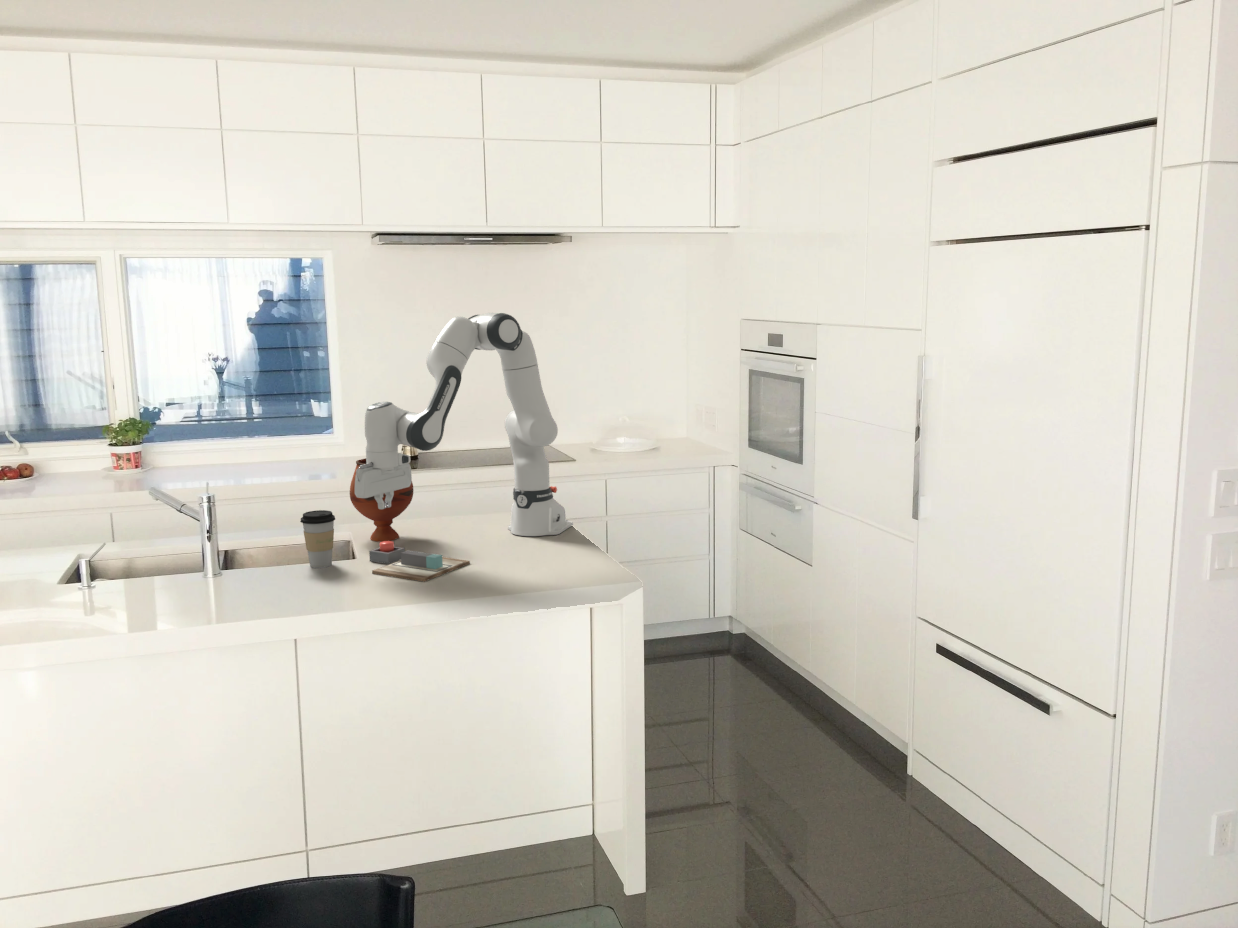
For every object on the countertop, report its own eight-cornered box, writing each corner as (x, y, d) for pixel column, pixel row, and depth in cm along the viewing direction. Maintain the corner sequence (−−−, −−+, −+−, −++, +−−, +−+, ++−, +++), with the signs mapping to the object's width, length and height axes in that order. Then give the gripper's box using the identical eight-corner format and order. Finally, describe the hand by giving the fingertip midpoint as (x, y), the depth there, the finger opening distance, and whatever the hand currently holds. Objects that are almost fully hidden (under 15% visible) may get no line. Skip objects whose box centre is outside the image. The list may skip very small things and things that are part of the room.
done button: (386, 549, 291) (386, 540, 291) (397, 550, 289) (396, 541, 289) (376, 552, 288) (376, 543, 287) (387, 553, 286) (387, 545, 285)
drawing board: (419, 556, 292) (419, 553, 292) (469, 563, 284) (469, 560, 283) (372, 573, 275) (372, 570, 275) (424, 581, 266) (423, 578, 266)
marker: (401, 564, 281) (400, 552, 280) (408, 561, 283) (408, 550, 283) (435, 569, 275) (434, 557, 274) (442, 566, 278) (442, 555, 277)
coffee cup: (325, 570, 278) (321, 517, 275) (296, 568, 281) (292, 515, 278) (344, 562, 287) (341, 510, 284) (316, 559, 290) (313, 508, 287)
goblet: (341, 544, 307) (336, 464, 302) (370, 530, 325) (365, 453, 321) (399, 547, 302) (395, 465, 298) (425, 532, 321) (421, 455, 317)
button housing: (386, 555, 294) (385, 545, 293) (405, 558, 290) (404, 548, 290) (369, 561, 287) (369, 550, 287) (388, 563, 284) (388, 553, 284)
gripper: (365, 466, 273) (367, 516, 276) (414, 455, 291) (416, 502, 293) (347, 465, 276) (350, 514, 279) (397, 454, 294) (399, 500, 296)
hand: (384, 508), depth 286 cm, fingers closed
